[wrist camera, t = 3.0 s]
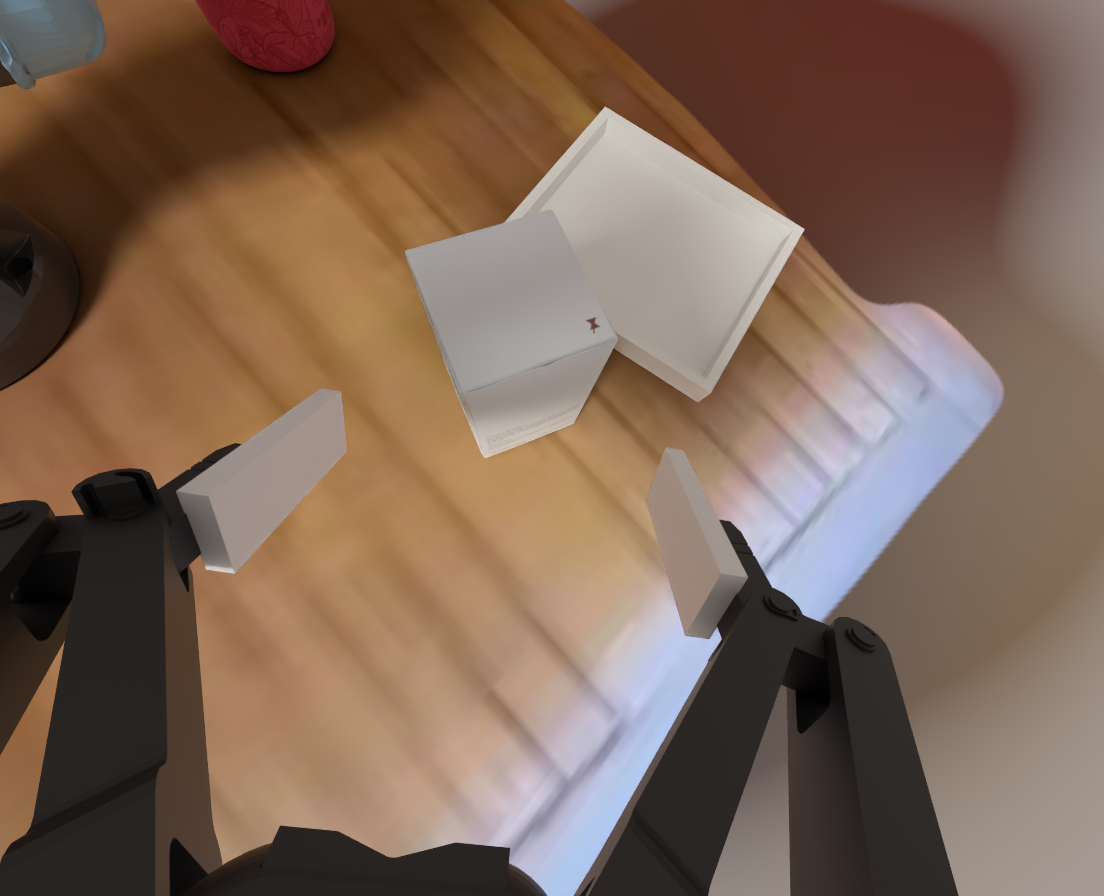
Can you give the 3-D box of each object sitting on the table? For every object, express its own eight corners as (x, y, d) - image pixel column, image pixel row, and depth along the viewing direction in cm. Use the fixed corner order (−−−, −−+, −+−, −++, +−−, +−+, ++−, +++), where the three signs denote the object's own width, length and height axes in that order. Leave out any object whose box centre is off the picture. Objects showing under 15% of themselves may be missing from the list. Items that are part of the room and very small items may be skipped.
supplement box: (537, 339, 30) (558, 202, 18) (576, 425, 29) (625, 340, 17) (445, 370, 29) (399, 244, 17) (481, 461, 28) (459, 398, 15)
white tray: (484, 265, 31) (482, 247, 29) (599, 130, 36) (605, 106, 34) (697, 402, 30) (710, 393, 29) (788, 246, 35) (804, 229, 33)
